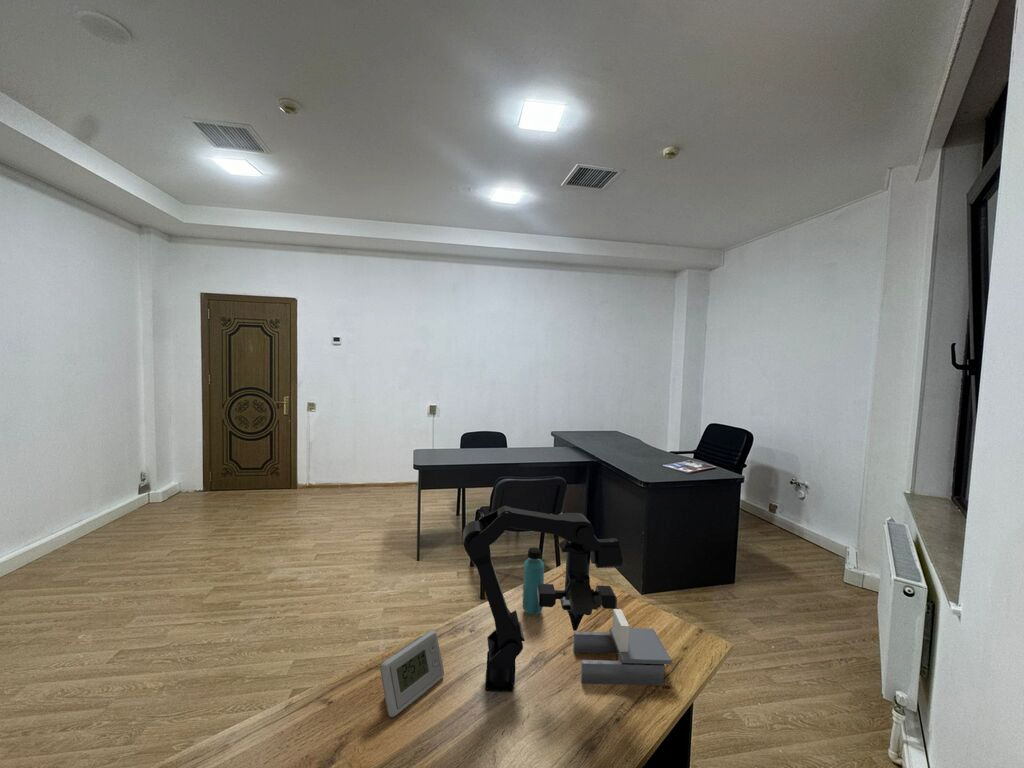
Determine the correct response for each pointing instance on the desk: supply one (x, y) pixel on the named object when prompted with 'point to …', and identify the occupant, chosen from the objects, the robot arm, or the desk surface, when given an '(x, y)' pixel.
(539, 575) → the beverage bottle
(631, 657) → the sliding lid
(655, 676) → the metal rails
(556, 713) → the desk surface
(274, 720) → the desk surface
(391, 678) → the digital clock
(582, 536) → the robot arm
